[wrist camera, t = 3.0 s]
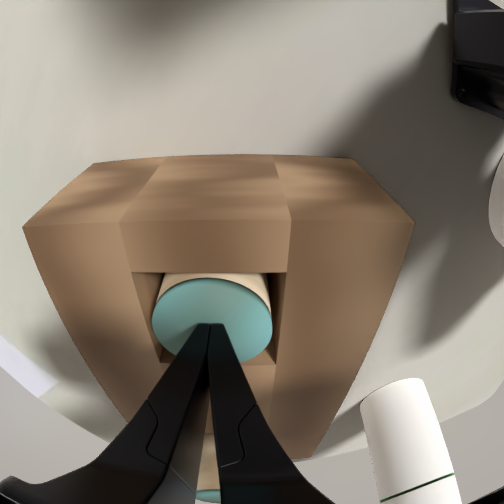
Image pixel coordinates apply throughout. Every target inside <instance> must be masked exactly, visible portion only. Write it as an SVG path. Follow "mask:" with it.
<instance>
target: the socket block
mask: <svg viewBox="0 0 504 504" xmlns="http://www.w3.org/2000/svg"><path fill="white" fill-rule="evenodd" d="M414 225H415V222H414V221H413V220H412V219H411V218H410V217H409V215H408V214H407V213H406V212H405V211H404V210H403V209H402V208H401V207H400V206H399V205H398V203H397V202H396V201H395V200H394V199H393V198H392V197H391V196H390V195H389V194H388V193H387V192H386V191H385V190H384V189H383V188H382V187H381V186H380V185H379V184H378V183H377V182H376V181H375V180H374V179H373V178H372V177H371V176H370V175H369V174H368V173H367V172H366V171H365V170H364V169H363V168H362V167H361V166H360V165H359V164H358V163H357V162H356V161H355V160H354V159H348V158H335V157H319V156H298V155H256V154H235V155H193V156H172V157H156V158H143V159H131V160H121V161H111V162H102V163H94V164H92V165H91V166H90V167H89V168H87V169H86V170H85V171H84V172H82V173H81V174H80V175H79V176H78V177H76V178H75V179H74V180H73V181H72V182H70V183H69V184H68V185H67V186H66V187H64V188H63V189H62V190H61V191H60V192H59V193H58V194H56V195H55V196H54V197H53V198H52V199H51V200H50V201H49V202H48V203H46V204H45V205H44V206H43V207H42V208H41V209H40V210H39V211H38V212H37V213H36V214H35V215H34V216H33V217H32V218H31V219H30V220H29V221H28V222H27V223H26V224H25V225H24V226H23V227H22V228H23V231H24V234H25V237H26V239H27V242H28V245H29V248H30V250H31V253H32V255H33V258H34V260H35V263H36V265H37V268H38V270H39V272H40V275H41V277H42V279H43V282H44V284H45V286H46V288H47V291H48V293H49V295H50V297H51V299H52V301H53V303H54V305H55V307H56V309H57V311H58V313H59V315H60V317H61V319H62V321H63V323H64V325H65V327H66V329H67V330H68V332H69V334H70V336H71V338H72V339H73V341H74V343H75V345H76V347H77V348H78V350H79V352H80V353H81V355H82V357H83V358H84V360H85V362H86V363H87V365H88V366H89V368H90V370H91V371H92V373H93V374H94V376H95V377H96V379H97V380H98V382H99V383H100V385H101V386H102V388H103V389H104V391H105V392H106V394H107V395H108V397H109V398H110V399H111V401H112V402H113V404H114V405H115V406H116V408H117V409H118V411H119V412H120V413H121V415H122V416H123V417H124V418H125V420H126V421H127V422H128V423H129V422H130V420H131V419H132V418H133V417H134V415H135V414H136V413H137V411H138V410H139V408H140V407H141V406H142V404H143V403H144V401H145V400H146V399H147V397H148V396H149V394H150V393H151V391H152V390H153V388H154V387H155V385H156V384H157V382H158V381H159V379H160V378H161V377H162V375H163V374H164V372H165V371H166V369H167V368H168V366H169V365H170V363H171V362H172V361H173V359H174V358H175V356H176V355H174V354H173V353H171V352H170V351H168V350H167V349H166V348H165V347H164V346H163V345H162V344H161V343H160V342H159V340H158V339H157V337H156V336H155V333H154V331H153V327H152V316H153V312H154V309H155V305H156V302H157V298H158V295H159V292H160V289H161V285H162V282H163V279H164V276H165V272H168V273H267V279H268V289H269V298H270V309H271V319H272V336H271V339H270V342H269V343H268V345H267V346H266V348H265V349H264V350H263V351H262V352H261V353H259V354H258V355H256V356H255V357H253V358H251V359H249V360H247V361H245V362H242V363H240V364H241V367H242V369H243V371H244V374H245V376H246V378H247V380H248V383H249V385H250V387H251V390H252V392H253V394H254V396H255V399H256V401H257V404H258V405H259V407H260V410H261V412H262V414H263V416H264V418H265V420H266V422H267V424H268V426H269V427H270V429H271V431H272V432H273V434H274V436H275V437H276V439H277V440H278V442H279V443H280V445H281V446H282V448H283V449H284V451H285V452H286V453H287V455H288V456H289V458H290V459H297V458H308V457H311V455H312V454H313V452H314V451H315V449H316V447H317V446H318V444H319V443H320V441H321V439H322V438H323V436H324V434H325V433H326V431H327V429H328V427H329V426H330V424H331V422H332V421H333V419H334V417H335V415H336V413H337V412H338V410H339V408H340V406H341V404H342V403H343V401H344V399H345V397H346V395H347V393H348V391H349V389H350V387H351V385H352V383H353V381H354V379H355V377H356V375H357V373H358V371H359V369H360V367H361V365H362V363H363V361H364V359H365V357H366V354H367V352H368V350H369V348H370V346H371V343H372V341H373V339H374V337H375V334H376V332H377V330H378V327H379V325H380V322H381V320H382V318H383V315H384V313H385V310H386V308H387V305H388V303H389V300H390V297H391V295H392V292H393V289H394V287H395V284H396V281H397V278H398V275H399V273H400V270H401V267H402V264H403V261H404V258H405V255H406V252H407V248H408V245H409V242H410V239H411V235H412V232H413V229H414ZM147 400H148V399H147ZM205 433H214V431H213V421H212V411H211V400H210V402H209V408H208V415H207V421H206V428H205Z"/></svg>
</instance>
